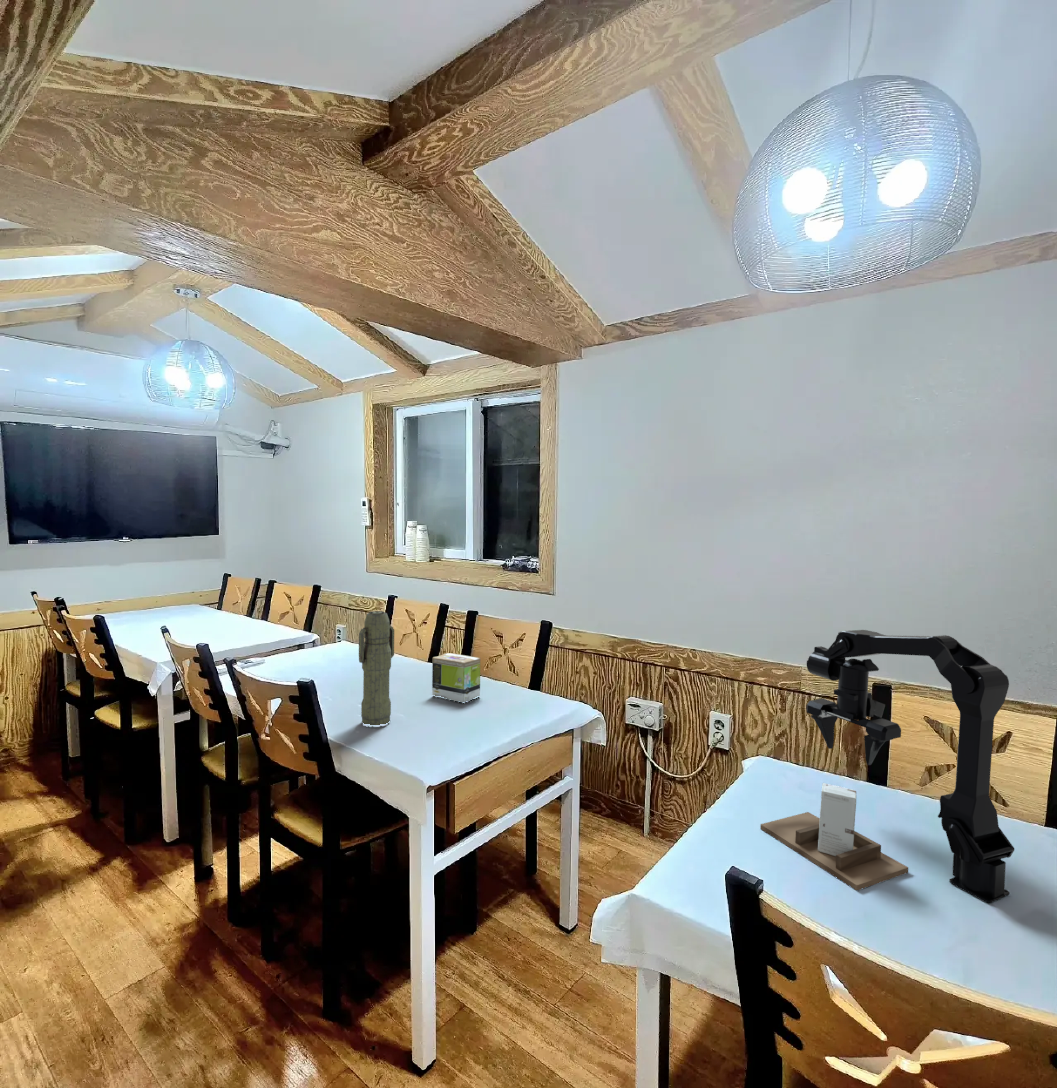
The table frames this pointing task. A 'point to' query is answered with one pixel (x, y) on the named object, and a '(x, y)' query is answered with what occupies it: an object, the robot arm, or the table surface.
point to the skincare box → (836, 819)
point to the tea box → (456, 677)
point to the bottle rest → (850, 866)
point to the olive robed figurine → (376, 667)
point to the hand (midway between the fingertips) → (849, 756)
